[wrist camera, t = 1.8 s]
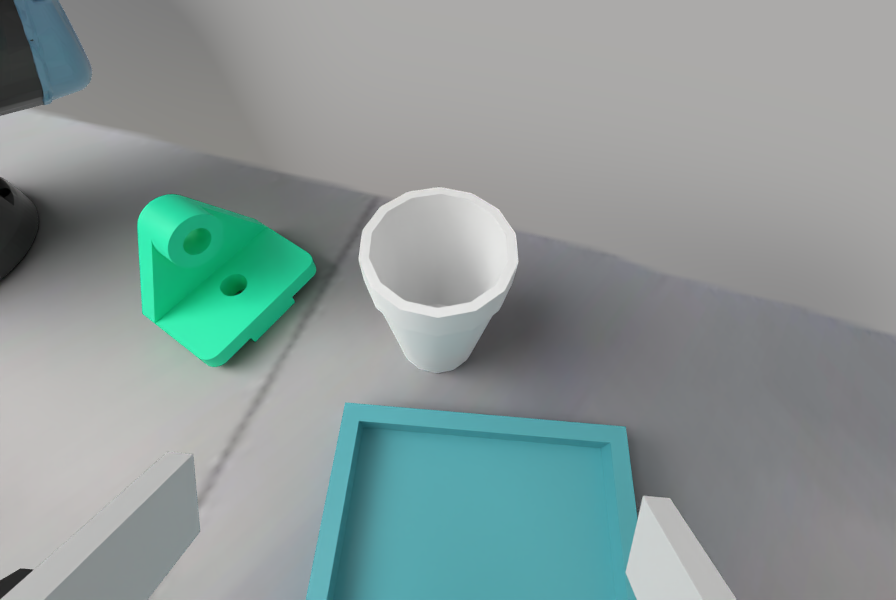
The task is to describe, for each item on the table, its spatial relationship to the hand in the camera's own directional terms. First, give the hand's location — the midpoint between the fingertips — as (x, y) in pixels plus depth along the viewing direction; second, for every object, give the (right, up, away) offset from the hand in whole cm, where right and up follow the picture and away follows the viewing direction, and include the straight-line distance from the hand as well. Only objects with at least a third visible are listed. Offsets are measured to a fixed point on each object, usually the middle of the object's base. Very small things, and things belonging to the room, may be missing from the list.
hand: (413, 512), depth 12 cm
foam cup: (0, +3, +24) cm, 24 cm away
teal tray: (+3, -12, +15) cm, 20 cm away
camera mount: (-17, +6, +26) cm, 31 cm away
